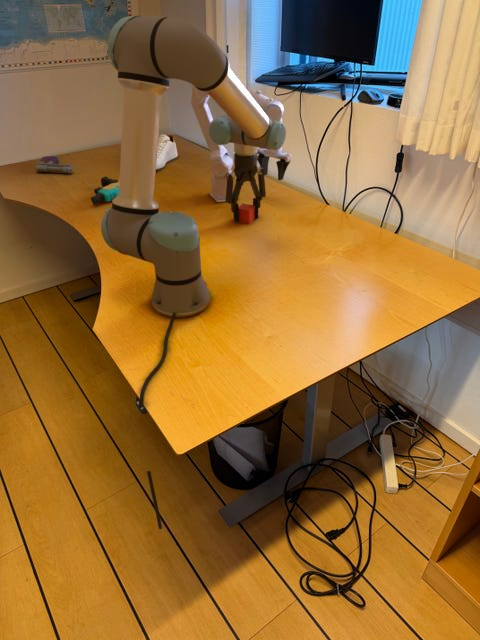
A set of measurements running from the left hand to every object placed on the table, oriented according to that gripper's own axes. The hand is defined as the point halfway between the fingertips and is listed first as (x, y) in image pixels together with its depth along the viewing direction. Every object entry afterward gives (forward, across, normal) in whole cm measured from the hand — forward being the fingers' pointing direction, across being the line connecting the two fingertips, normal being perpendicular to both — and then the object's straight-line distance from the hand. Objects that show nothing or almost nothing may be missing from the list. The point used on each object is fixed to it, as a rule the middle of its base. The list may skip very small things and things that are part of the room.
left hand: (246, 218), depth 167 cm
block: (0, 0, 0) cm, 0 cm away
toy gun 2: (0, +38, -45) cm, 59 cm away
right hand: (-9, -16, -10) cm, 21 cm away
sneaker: (0, +9, -73) cm, 73 cm away
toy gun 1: (0, +51, -87) cm, 101 cm away
